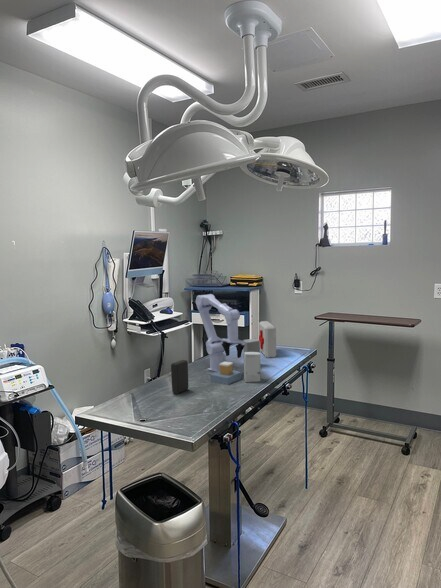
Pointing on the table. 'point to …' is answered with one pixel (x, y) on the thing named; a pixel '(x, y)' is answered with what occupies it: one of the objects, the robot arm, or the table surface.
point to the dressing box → (226, 377)
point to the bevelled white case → (267, 339)
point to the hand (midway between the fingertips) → (233, 356)
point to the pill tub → (226, 368)
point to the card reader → (179, 376)
